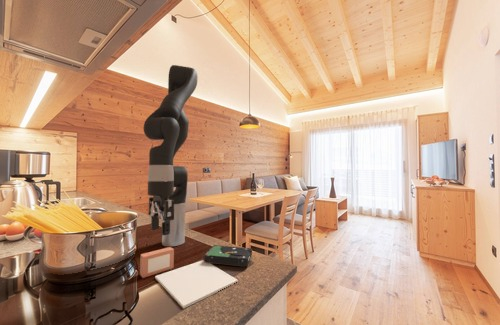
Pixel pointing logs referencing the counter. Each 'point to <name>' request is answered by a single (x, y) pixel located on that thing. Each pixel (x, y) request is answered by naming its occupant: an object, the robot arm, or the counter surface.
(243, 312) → the counter surface
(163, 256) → the deck box
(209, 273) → the mat
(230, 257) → the disk drive
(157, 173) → the robot arm
